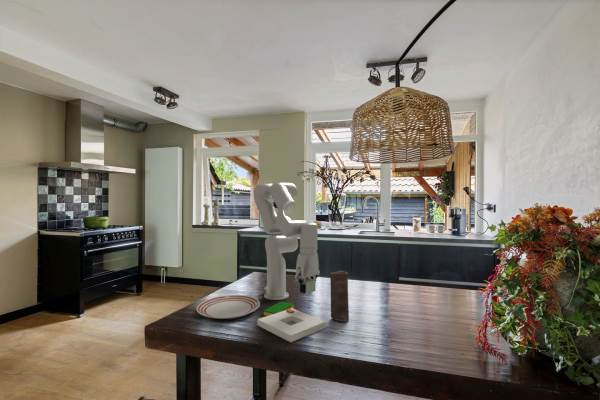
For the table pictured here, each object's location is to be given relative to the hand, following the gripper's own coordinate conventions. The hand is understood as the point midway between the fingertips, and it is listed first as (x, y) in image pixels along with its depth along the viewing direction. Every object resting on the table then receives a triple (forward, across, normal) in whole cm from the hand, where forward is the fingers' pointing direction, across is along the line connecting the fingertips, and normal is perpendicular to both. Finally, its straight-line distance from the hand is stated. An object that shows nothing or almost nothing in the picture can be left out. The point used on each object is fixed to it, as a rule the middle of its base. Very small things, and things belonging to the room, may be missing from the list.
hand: (307, 291), depth 135 cm
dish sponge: (+11, +8, -9) cm, 16 cm away
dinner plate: (+11, +25, -24) cm, 36 cm away
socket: (+9, +15, +7) cm, 19 cm away
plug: (+1, 0, 0) cm, 1 cm away
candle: (+9, -4, +16) cm, 18 cm away
